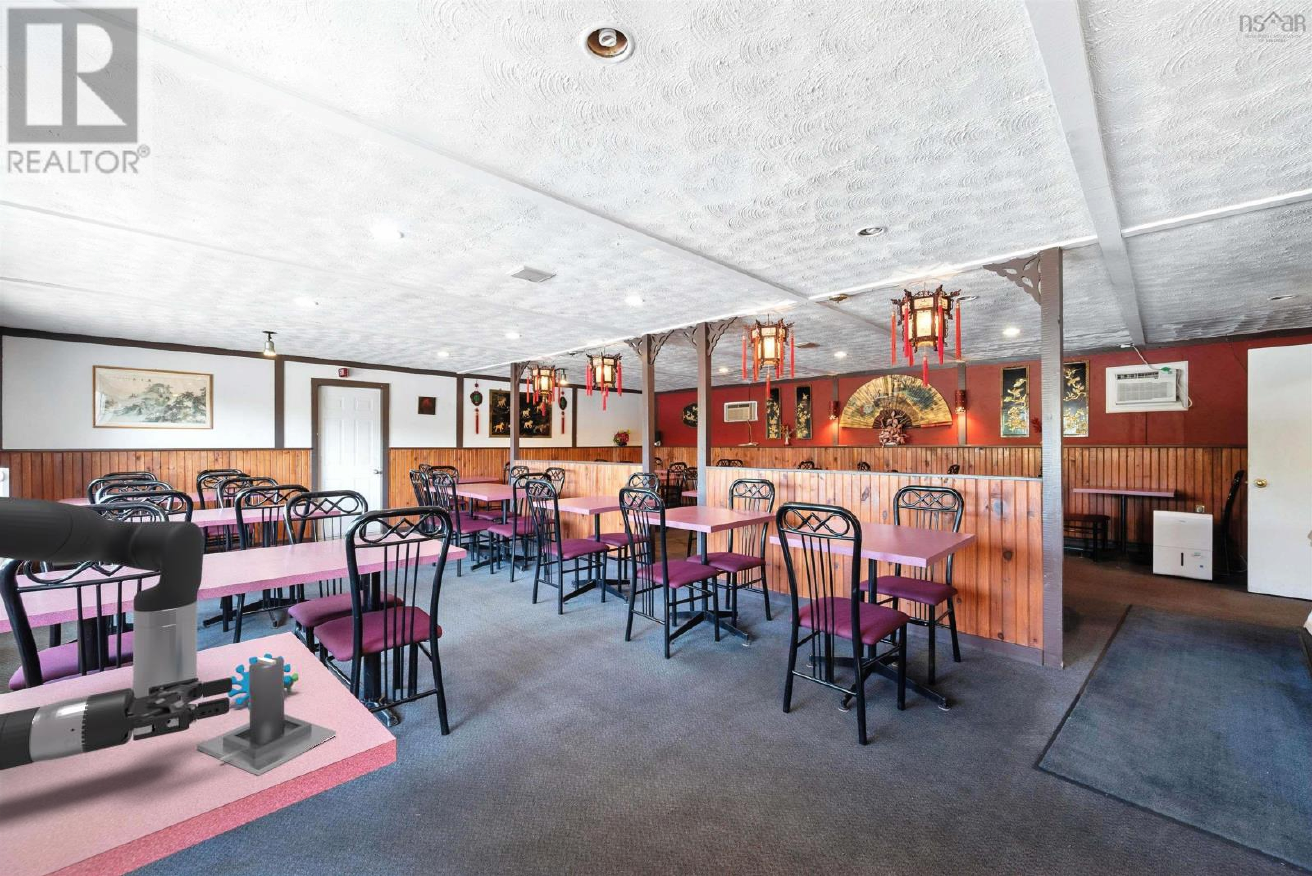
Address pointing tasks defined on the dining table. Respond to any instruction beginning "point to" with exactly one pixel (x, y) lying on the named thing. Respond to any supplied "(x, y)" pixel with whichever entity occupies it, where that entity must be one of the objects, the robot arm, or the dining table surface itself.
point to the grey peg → (266, 699)
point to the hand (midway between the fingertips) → (230, 694)
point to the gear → (245, 681)
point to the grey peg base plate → (265, 745)
